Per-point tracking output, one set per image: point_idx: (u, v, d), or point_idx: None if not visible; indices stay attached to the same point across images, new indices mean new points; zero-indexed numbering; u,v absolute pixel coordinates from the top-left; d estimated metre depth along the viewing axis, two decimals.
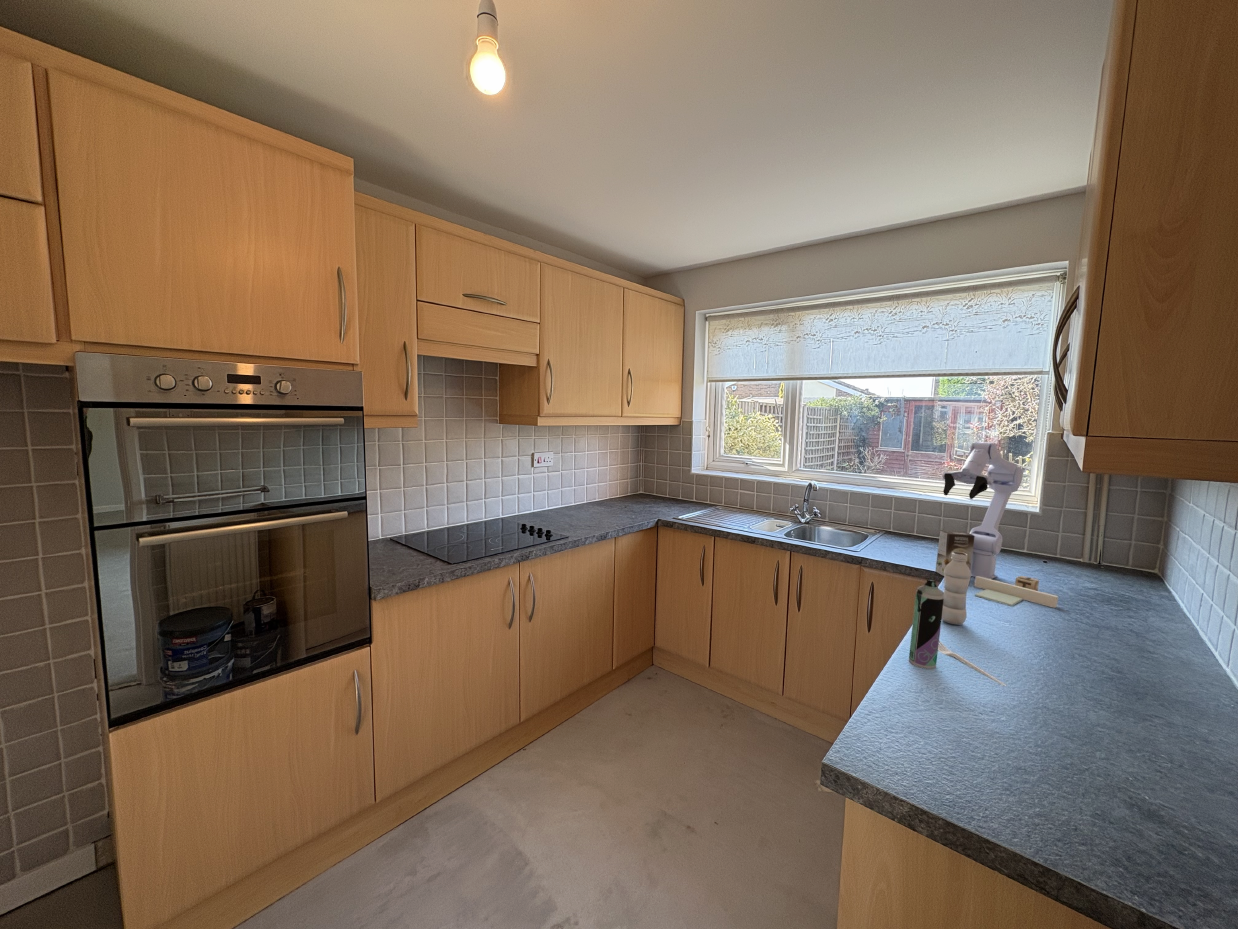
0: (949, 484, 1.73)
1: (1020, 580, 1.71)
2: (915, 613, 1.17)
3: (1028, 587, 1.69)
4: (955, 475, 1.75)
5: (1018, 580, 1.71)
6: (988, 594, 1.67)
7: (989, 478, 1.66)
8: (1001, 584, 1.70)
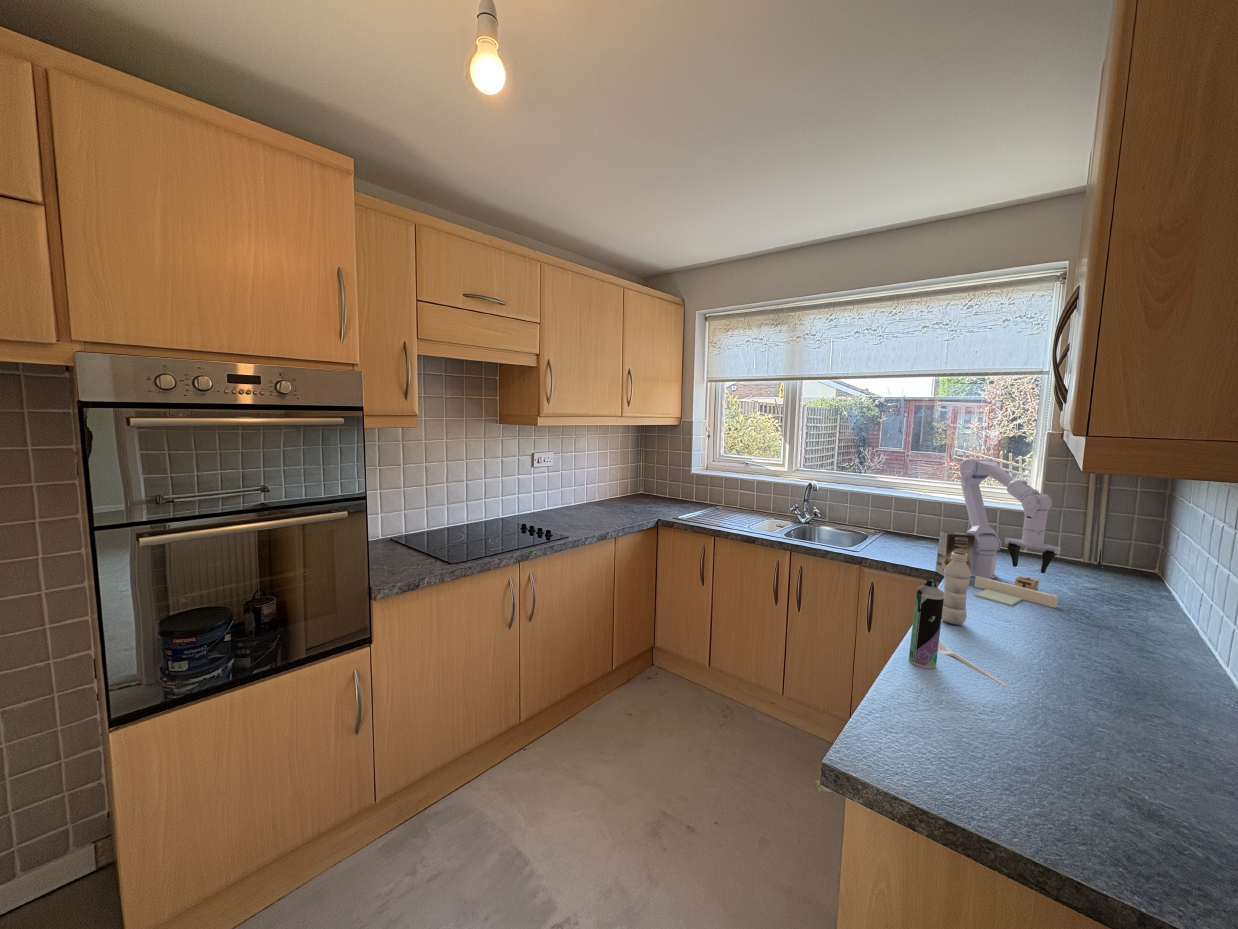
0: (1016, 556, 1.73)
1: (1020, 580, 1.71)
2: (915, 613, 1.17)
3: (1028, 587, 1.69)
4: None
5: (1018, 580, 1.71)
6: (988, 594, 1.67)
7: (1056, 550, 1.64)
8: (1001, 584, 1.70)
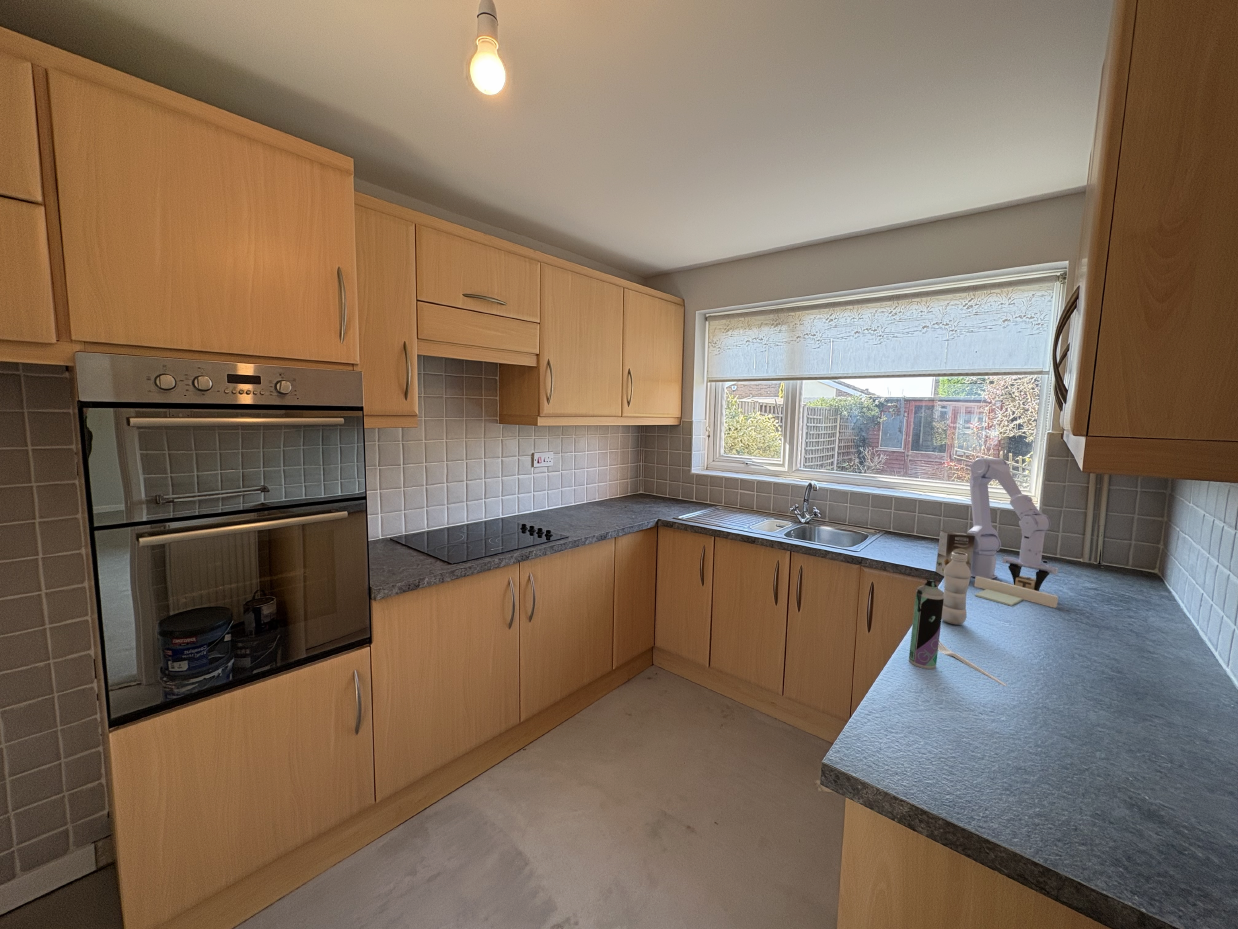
0: (1017, 576, 1.73)
1: (1020, 580, 1.71)
2: (915, 613, 1.17)
3: (1028, 587, 1.69)
4: None
5: (1018, 580, 1.71)
6: (988, 594, 1.67)
7: (1053, 570, 1.65)
8: (1001, 584, 1.70)
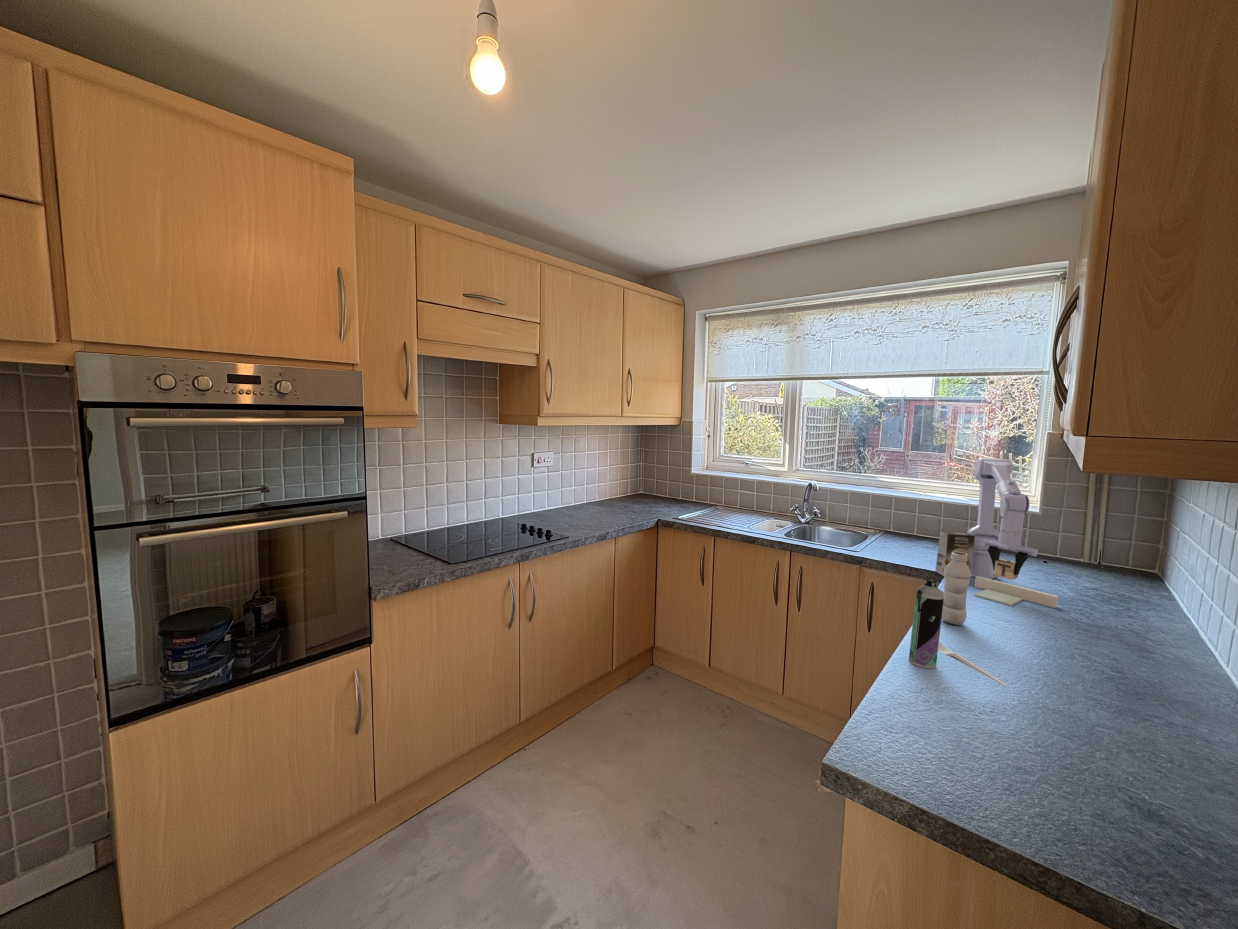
0: (996, 559, 1.67)
1: (1000, 563, 1.64)
2: (915, 613, 1.17)
3: (1008, 570, 1.63)
4: (995, 544, 1.67)
5: (998, 563, 1.65)
6: (988, 594, 1.67)
7: (1033, 552, 1.58)
8: (1001, 584, 1.70)
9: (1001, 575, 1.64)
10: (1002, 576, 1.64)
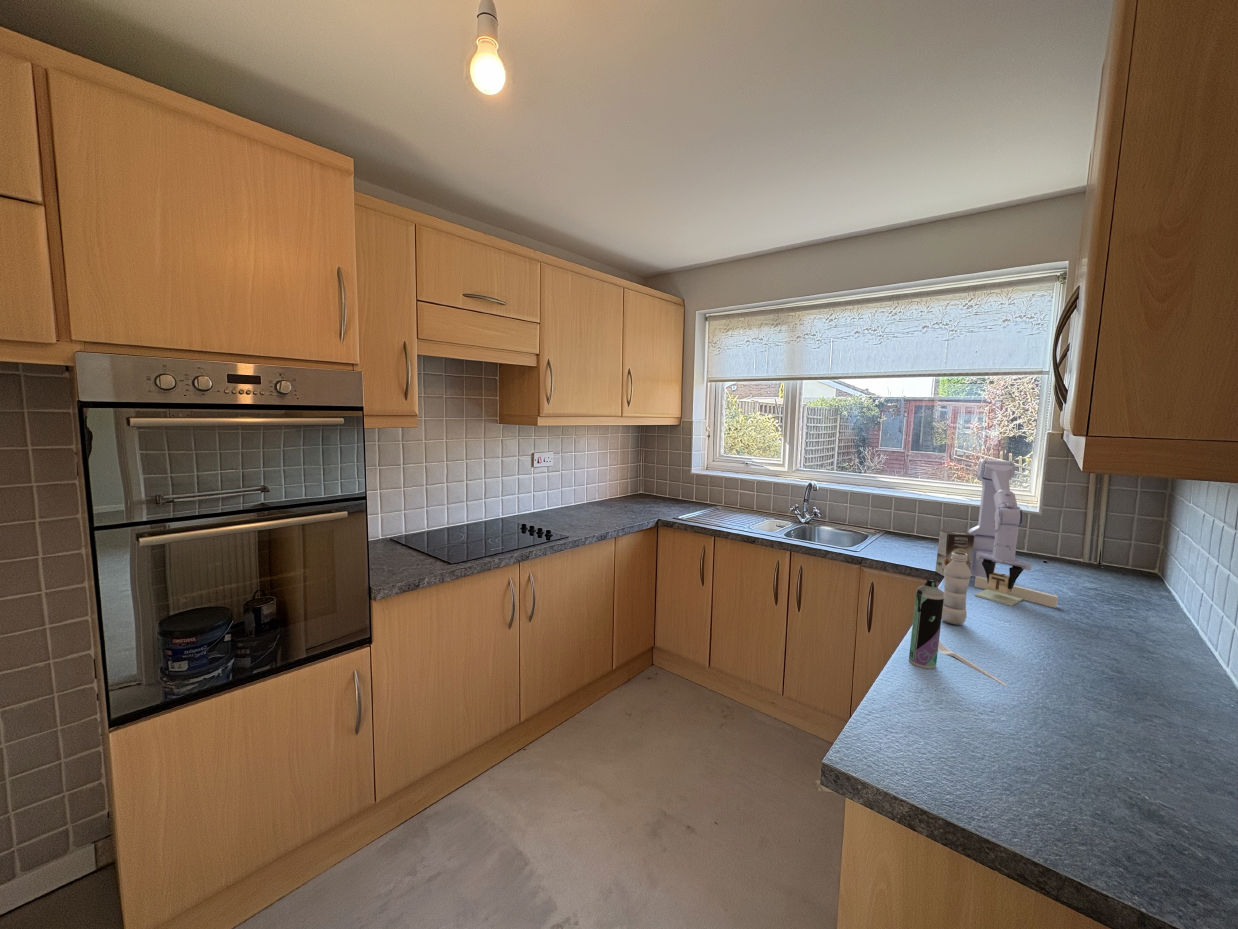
0: (990, 572, 1.66)
1: (994, 576, 1.64)
2: (915, 613, 1.17)
3: (1002, 584, 1.62)
4: None
5: (992, 576, 1.65)
6: (988, 594, 1.67)
7: (1027, 566, 1.58)
8: None
9: (995, 589, 1.64)
10: (996, 590, 1.64)
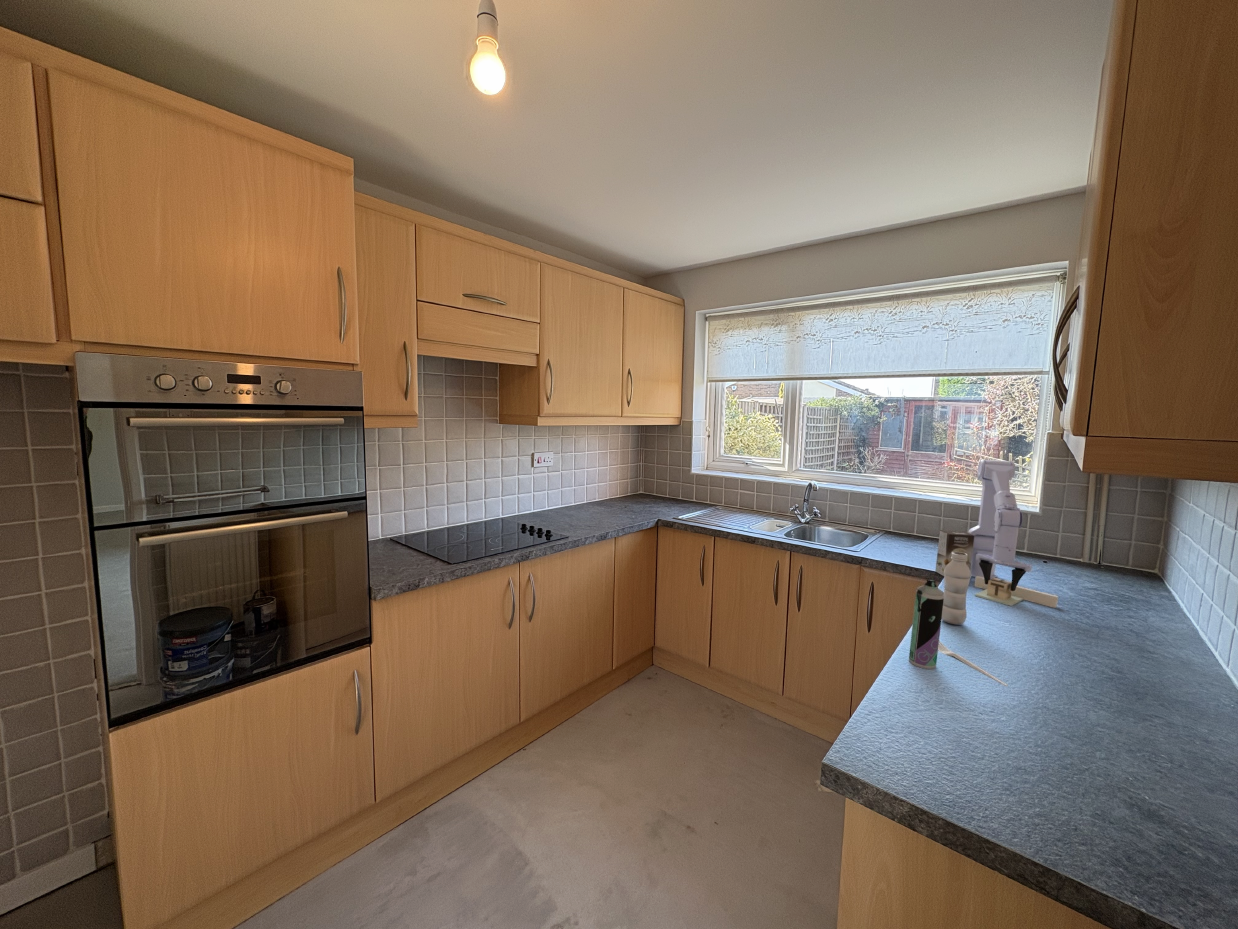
0: (988, 573, 1.67)
1: (993, 582, 1.64)
2: (915, 613, 1.17)
3: (1001, 590, 1.63)
4: (989, 559, 1.67)
5: (991, 582, 1.65)
6: None
7: (1026, 568, 1.58)
8: None
9: (994, 595, 1.64)
10: (995, 596, 1.64)
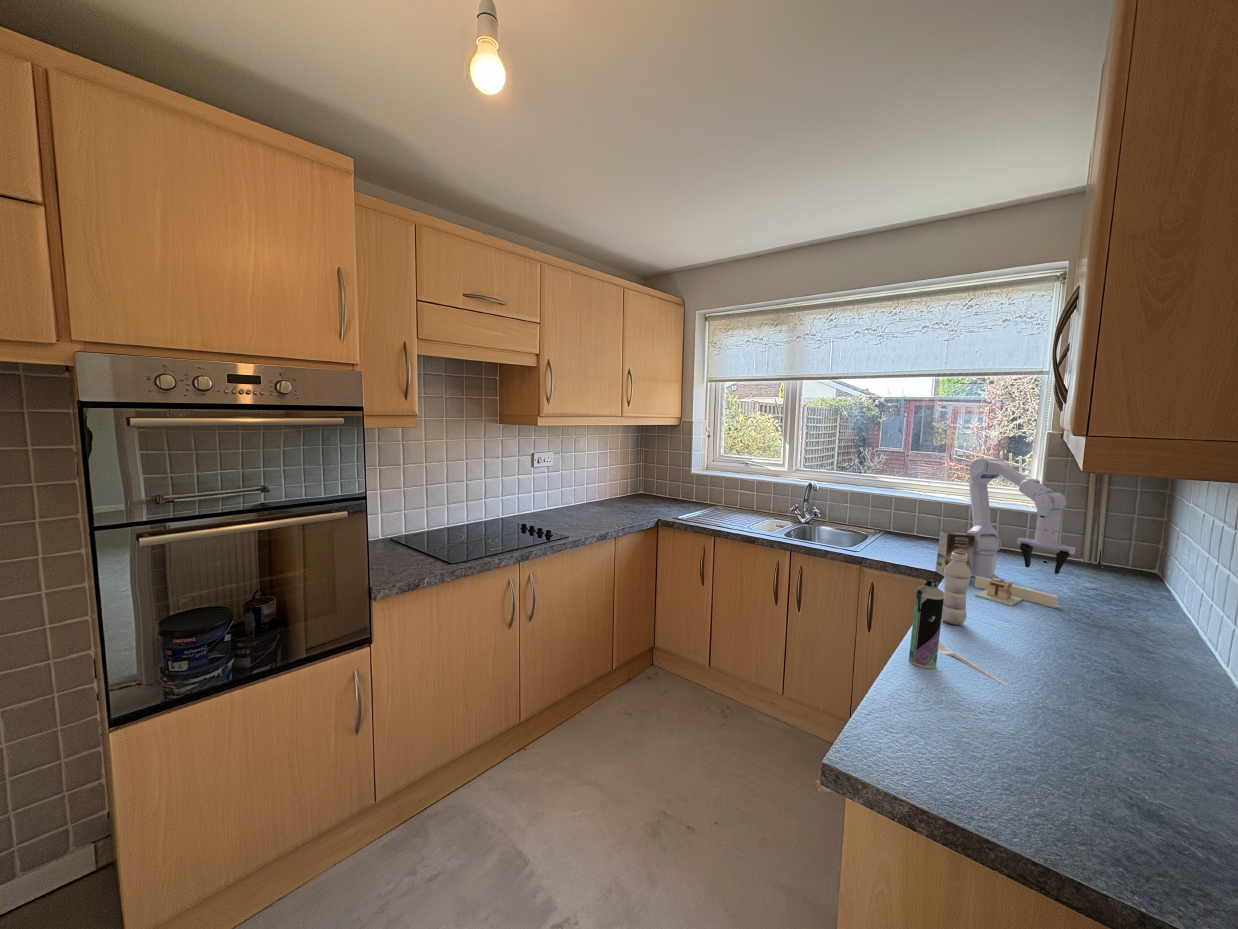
0: (1028, 556, 1.68)
1: (993, 582, 1.64)
2: (915, 613, 1.17)
3: (1001, 590, 1.63)
4: None
5: (991, 582, 1.65)
6: None
7: (1070, 550, 1.59)
8: None
9: (994, 595, 1.64)
10: (995, 596, 1.64)
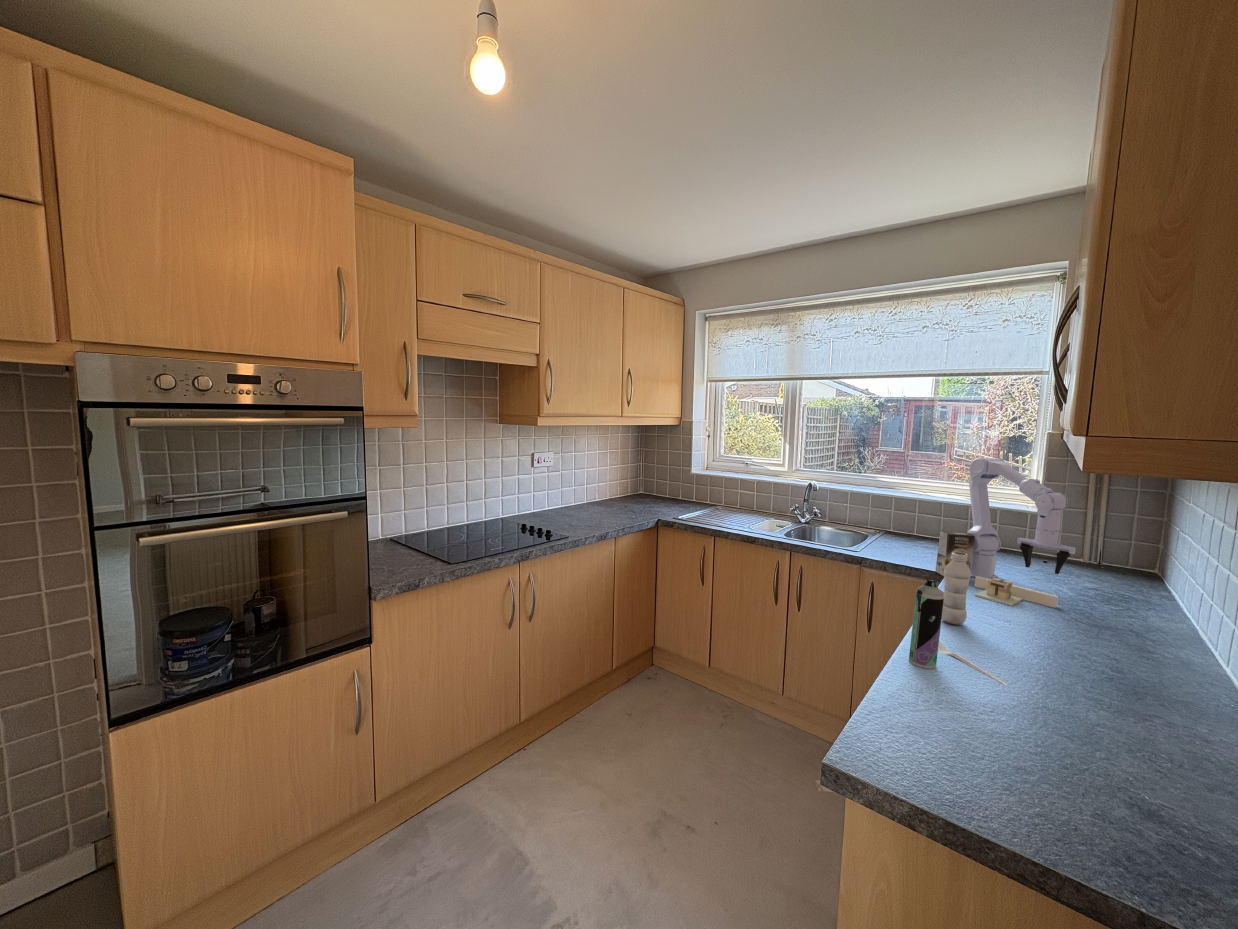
0: (1029, 556, 1.68)
1: (993, 582, 1.64)
2: (915, 613, 1.17)
3: (1001, 590, 1.63)
4: None
5: (991, 582, 1.65)
6: None
7: (1070, 550, 1.59)
8: None
9: (994, 595, 1.64)
10: (995, 596, 1.64)
